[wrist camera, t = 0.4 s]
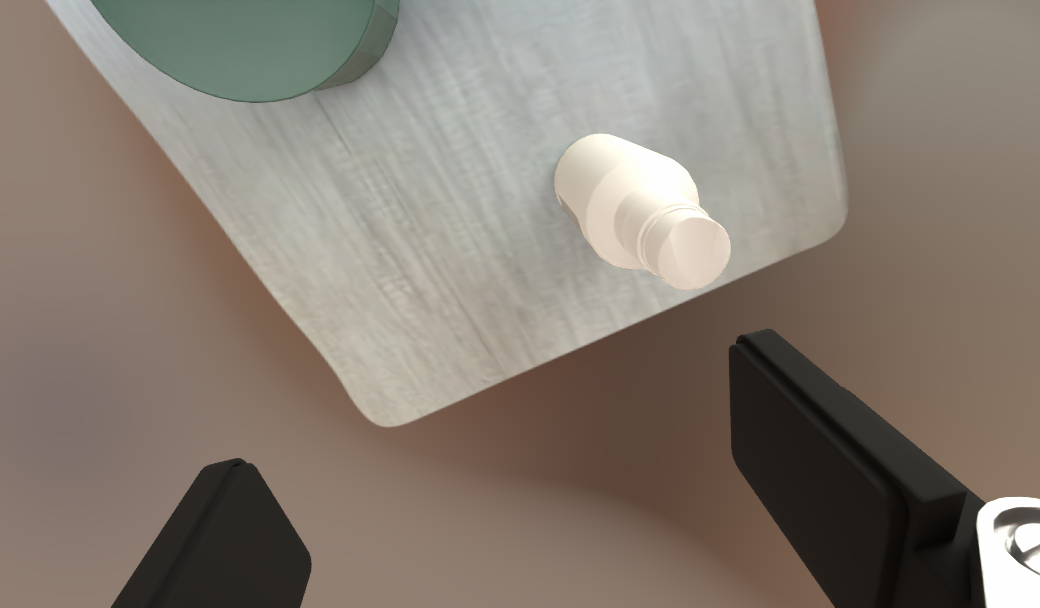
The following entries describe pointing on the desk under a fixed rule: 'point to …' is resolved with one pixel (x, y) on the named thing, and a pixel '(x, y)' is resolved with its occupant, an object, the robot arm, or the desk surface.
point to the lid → (243, 42)
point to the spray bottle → (640, 211)
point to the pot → (369, 44)
